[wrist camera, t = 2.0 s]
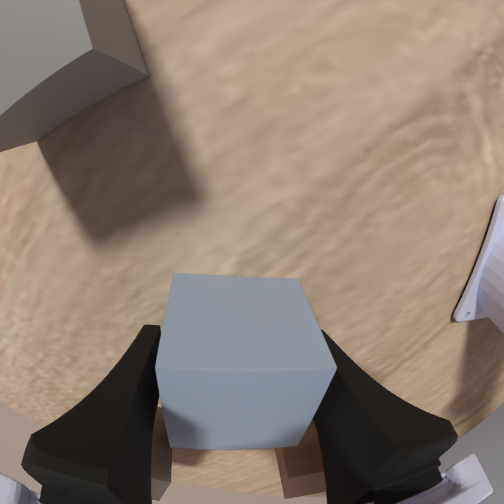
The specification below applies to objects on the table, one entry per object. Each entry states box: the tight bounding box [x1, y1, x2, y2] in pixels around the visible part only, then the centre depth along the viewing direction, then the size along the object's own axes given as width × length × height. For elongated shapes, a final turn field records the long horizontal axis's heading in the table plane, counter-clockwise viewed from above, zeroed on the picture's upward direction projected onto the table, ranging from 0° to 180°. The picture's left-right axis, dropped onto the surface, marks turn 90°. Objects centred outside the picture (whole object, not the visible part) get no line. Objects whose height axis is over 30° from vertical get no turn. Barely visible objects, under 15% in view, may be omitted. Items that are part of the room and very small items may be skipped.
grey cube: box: [0, 0, 150, 152], centre depth 5 cm, size 5×5×5 cm
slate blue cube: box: [155, 273, 337, 450], centre depth 11 cm, size 5×5×5 cm
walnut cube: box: [275, 418, 326, 499], centre depth 16 cm, size 5×5×5 cm
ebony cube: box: [151, 407, 172, 501], centre depth 14 cm, size 5×5×5 cm
